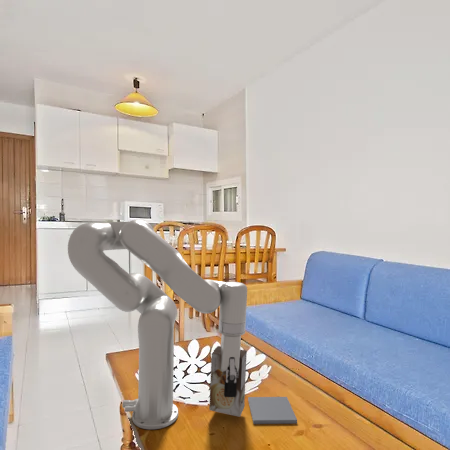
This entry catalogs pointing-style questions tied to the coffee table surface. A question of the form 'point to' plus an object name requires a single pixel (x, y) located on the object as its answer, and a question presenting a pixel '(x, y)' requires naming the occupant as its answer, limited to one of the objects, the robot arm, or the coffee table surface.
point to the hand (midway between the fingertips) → (228, 388)
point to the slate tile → (271, 410)
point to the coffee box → (218, 381)
